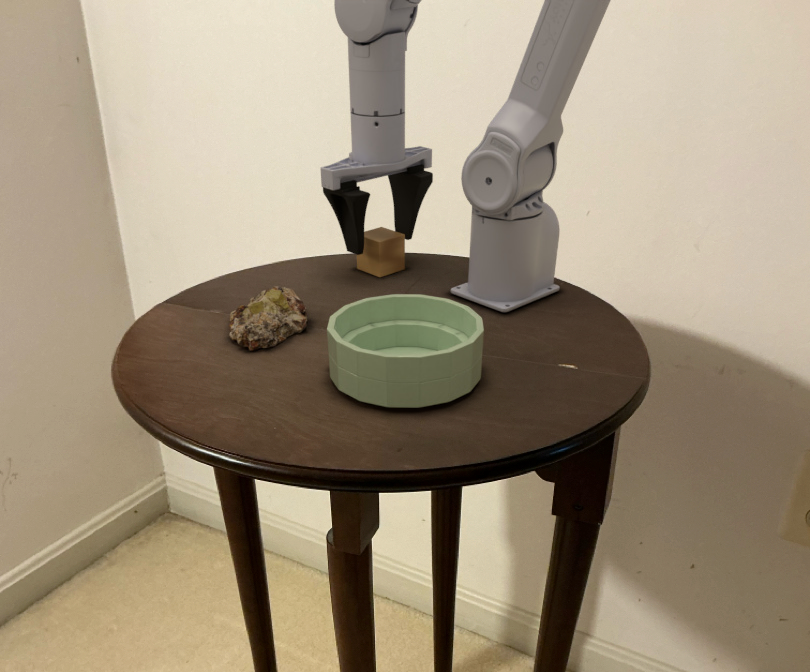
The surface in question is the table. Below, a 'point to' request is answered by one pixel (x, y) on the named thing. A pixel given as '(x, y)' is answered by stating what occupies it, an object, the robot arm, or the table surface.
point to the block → (382, 252)
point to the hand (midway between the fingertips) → (379, 244)
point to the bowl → (405, 350)
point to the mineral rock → (268, 319)
